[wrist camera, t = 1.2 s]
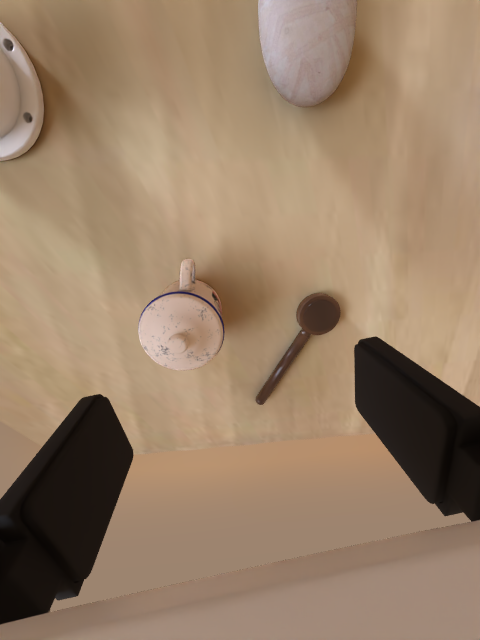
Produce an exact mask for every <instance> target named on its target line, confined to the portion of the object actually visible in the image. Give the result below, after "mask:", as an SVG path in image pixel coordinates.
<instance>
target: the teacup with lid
mask: <svg viewBox="0 0 480 640" xmlns="http://www.w3.org/2000/svg"><path fill="white" fill-rule="evenodd" d="M138 331H139V338H140V342H141V344H142V347H143V348H144V350H145V351H146V353H147V354H148V355H149V356H150V357H151V358H152V359H153V360H154V361H155V362H157V363H158V364H160V365H162V366H164V367H167V368H169V369H174V370H192V369H196V368H199V367H201V366H203V365H205V364H207V363H208V362H209V361H211V360H212V359H213V358H214V357H215V356H216V354H217V353H218V352H219V350H220V348H221V346H222V344H223V340H224V324H223V321H222V306H221V302H220V299H219V297H218V295H217V293H216V292H215V291H214V290H213V289H212V288H211V287H210V286H209V285H207V284H206V283H204V282H202V281H199V280H195V263H194V261H193V260H192V259H184V260H183V261H182V264H181V269H180V280H179V281H176V282H174V283H173V284H171V285H170V286H168V287H167V288H166V289H165V290H164V291H163V293H162V294H161V295H160V296H159V297H157V298H155V299H154V300H152V301H151V302H150V303H149V304H148V305H147V306H146V308H145V309H144V311H143V312H142V314H141V317H140V320H139V326H138Z"/></svg>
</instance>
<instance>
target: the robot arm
mask: <svg viewBox="0 0 480 640" xmlns="http://www.w3.org/2000/svg"><path fill="white" fill-rule="evenodd" d="M43 116H44V102H43V94H42V90H41V86H40V81H39V79H38V76H37V74H36V71H35V68H34V66H33V64H32V62H31V60H30V59H29V57H28V55H27V53H26V52H25V50H24V48H23V47H22V46H21V44H20V43H19V42H18V40H17V39H16V38H15V36H14V35H13V34H12V33H11V32H10V31H9V30H8V29H7V28H6V27H5V26H4V25H3V24H2V23H1V22H0V161H4V160H10V159H13V158H17V157H19V156H20V155H22V154H24V153H25V152H27V151H28V150H29V149H30V148H31V147H32V146H33V145H34V143H35V141H36V140H37V138H38V136H39V134H40V131H41V128H42V124H43ZM354 354H355V404H356V407H357V409H358V411H359V413H360V414H361V415H362V416H363V418H364V419H365V420H366V422H367V423H368V424H369V426H370V427H371V428H372V430H373V431H374V432H375V433H376V435H377V436H378V437H379V439H380V440H381V441H382V443H383V444H384V445H385V447H386V448H387V449H388V451H389V452H390V453H391V454H392V456H393V457H394V458H395V460H396V461H397V462H398V464H399V465H400V466H401V468H402V469H403V470H404V471H405V473H406V474H407V475H408V476H409V478H410V479H411V481H412V482H413V483H414V485H415V486H416V487H417V488H418V490H419V491H420V492H421V494H422V495H423V496H424V497H425V499H426V500H427V501H428V502H430V503H432V504H434V503H435V504H436V506H437V507H438V508H439V509H440V511H441V512H442V513H443V514H444V516H448V515H453V514H458V513H462V512H464V513H465V514H466V516H467V517H468V518H469V519H470V520H471V522H467V523H463V524H457V525H452V526H446V527H441V528H436V529H431V530H425V531H420V532H416V533H410V534H406V535H401V536H396V537H392V538H387V539H382V540H377V541H372V542H368V543H363V544H358V545H353V546H349V547H344V548H340V549H335V550H330V551H325V552H321V553H316V554H311V555H307V556H302V557H297V558H293V559H288V560H283V561H279V562H274V563H270V564H265V565H260V566H256V567H251V568H246V569H242V570H237V571H233V572H228V573H223V574H219V575H214V576H210V577H206V578H201V579H196V580H191V581H187V582H182V583H178V584H173V585H169V586H164V587H160V588H156V589H151V590H147V591H142V592H137V593H133V594H129V595H124V596H120V597H116V598H111V599H106V600H102V601H97V602H93V603H89V604H84V605H80V606H75V607H71V608H66V609H62V610H57V611H54V612H50V608H51V605H52V603H53V601H54V599H55V598H56V599H57V600H62V599H67V598H71V597H76V596H78V594H79V592H80V589H81V586H82V584H83V581H84V579H86V578H87V577H88V576H89V574H90V573H91V570H92V568H93V565H94V563H95V560H96V557H97V554H98V552H99V549H100V546H101V544H102V541H103V538H104V536H105V533H106V530H107V527H108V525H109V522H110V519H111V517H112V514H113V511H114V509H115V506H116V503H117V500H118V498H119V495H120V492H121V489H122V487H123V484H124V481H125V479H126V476H127V473H128V471H129V468H130V465H131V462H132V460H133V449H132V447H131V445H130V443H129V441H128V438H127V436H126V434H125V432H124V430H123V428H122V426H121V424H120V422H119V420H118V418H117V416H116V414H115V412H114V409H113V407H112V405H111V403H110V401H109V399H108V398H107V397H103V396H102V395H101V394H98V395H93V396H88V397H84V398H82V399H81V400H80V401H79V402H78V403H77V405H76V406H75V407H74V408H73V410H72V411H71V412H70V413H69V415H68V416H67V417H66V418H65V420H64V421H63V422H62V423H61V425H60V426H59V427H58V428H57V430H56V431H55V432H54V433H53V435H52V436H51V437H50V438H49V439H48V441H47V442H46V443H45V444H44V446H43V447H42V448H41V449H40V451H39V452H38V453H37V454H36V456H35V457H34V458H33V460H32V461H31V462H30V463H29V464H28V466H27V467H26V468H25V469H24V471H23V472H22V473H21V474H20V476H19V477H18V478H17V479H16V481H15V482H14V483H13V484H12V486H11V487H10V488H9V489H8V491H7V492H6V493H5V494H4V496H3V497H2V498H1V499H0V640H480V407H479V406H477V405H476V404H475V403H473V402H472V401H470V400H469V399H467V398H466V397H464V396H463V395H461V394H460V393H458V392H457V391H456V390H454V389H453V388H451V387H450V386H448V385H447V384H445V383H444V382H442V381H441V380H440V379H438V378H437V377H435V376H434V375H432V374H431V373H429V372H428V371H426V370H425V369H423V368H422V367H421V366H419V365H418V364H416V363H415V362H413V361H412V360H410V359H409V358H407V357H406V356H405V355H403V354H402V353H400V352H399V351H397V350H396V349H394V348H393V347H391V346H390V345H388V344H387V343H386V342H384V341H383V340H381V339H380V338H378V337H371V338H366V339H361V340H359V342H358V344H357V345H355V348H354Z"/></svg>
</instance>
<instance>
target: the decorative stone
mask: <svg viewBox="0 0 480 640" xmlns="http://www.w3.org/2000/svg"><path fill="white" fill-rule="evenodd" d="M356 11H357V0H259V2H258V18H259V34H260V42H261V48H262V53H263V58H264V62H265V65H266V68H267V71H268V74H269V76H270V79H271V81H272V83H273V84H274V86H275V88H276V89H277V91H278V92H279V93H280V95H281V96H282V97H283V98H284V99H285V100H287V101H288V102H289V103H291V104H293V105H296V106H300V107H310V106H314V105H317V104H319V103H321V102H323V101H324V100H326V99H327V98H328V97H329V96H330V95H331V94H332V93H333V92H334V91H335V90H336V88H337V87H338V86H339V84H340V82H341V81H342V79H343V77H344V75H345V72H346V70H347V67H348V64H349V61H350V57H351V53H352V48H353V42H354V35H355V26H356Z"/></svg>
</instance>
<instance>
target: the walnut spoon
mask: <svg viewBox="0 0 480 640" xmlns="http://www.w3.org/2000/svg"><path fill="white" fill-rule="evenodd" d="M339 318H340V307H339V305H338V303H337V302H336V301H335V300H334V299H333V298H332V297H330V296H328V295H326V294H322V293H316V294H312V295H310V296H308V297H306V298H305V299H304V300H303V301H302V302H301V303H300V305H299V307H298V309H297V321H298V323H299V325H300V326H301V327H302V329H303V330H301V331H300V333H299V334H298V336H297V337H296V339H295V340H294V342H293V343H292V345H291V346H290V348H289V349H288V351H287V352H286V354H285V355H284V357H283V358H282V360H281V361H280V362H279V364H278V365H277V367H276V368H275V370H274V371H273V373H272V374H271V376H270V377H269V379H268V380H267V382H266V383H265V385H264V386H263V388H262V389H261V391H260V392H259V394H258V395H257V397H256V402H257V403H258V404H259V405H263V404H264V403H265V402H266V400H267V399H268V397H269V396H270V394H271V393H272V391H273V390H274V389H275V387H276V386H277V384H278V383H279V381H280V380H281V378H282V377H283V375H284V374H285V373H286V371H287V370H288V368H289V367H290V365H291V364H292V362H293V361H294V359H295V358H296V357H297V355H298V354H299V352H300V351H301V349H302V348H303V346H304V345H305V344H306V342H307V341H308V339H309V338H310V335H311V334H312V335H322V334H325V333H327V332H329V331H331V330H332V329H333V328H334V327H335V326H336V324H337V323H338V321H339Z"/></svg>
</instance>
